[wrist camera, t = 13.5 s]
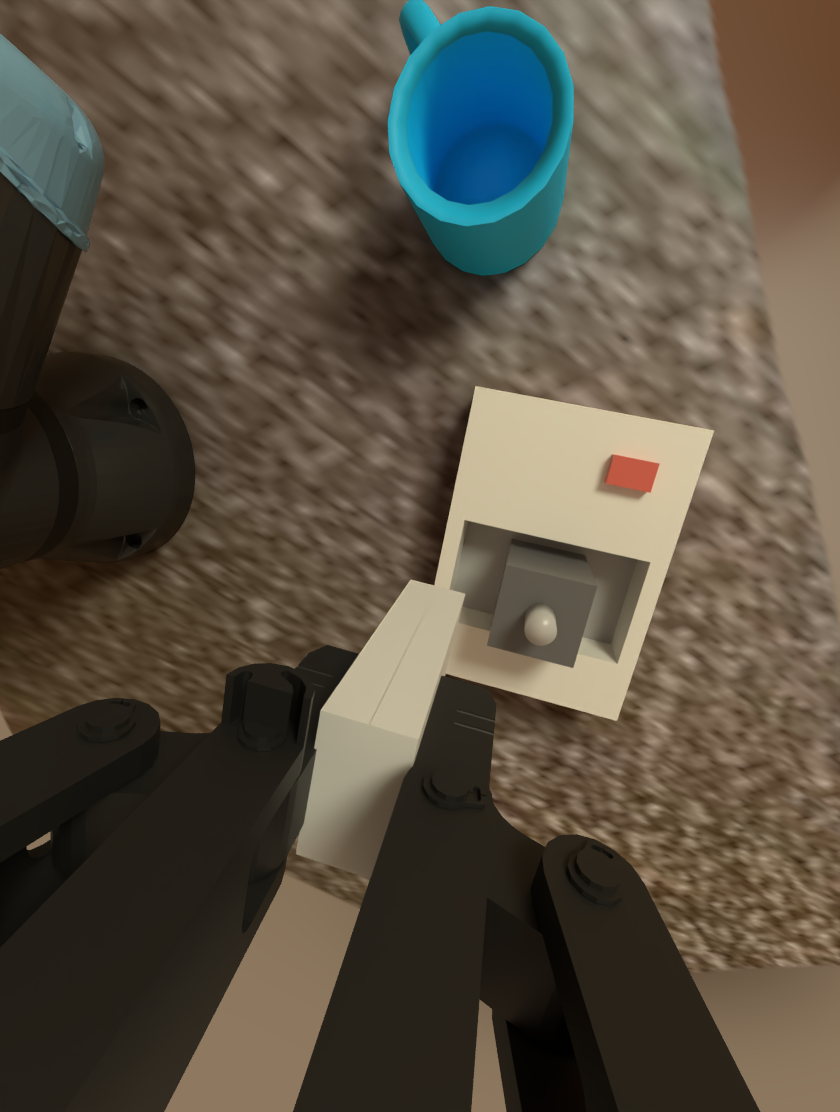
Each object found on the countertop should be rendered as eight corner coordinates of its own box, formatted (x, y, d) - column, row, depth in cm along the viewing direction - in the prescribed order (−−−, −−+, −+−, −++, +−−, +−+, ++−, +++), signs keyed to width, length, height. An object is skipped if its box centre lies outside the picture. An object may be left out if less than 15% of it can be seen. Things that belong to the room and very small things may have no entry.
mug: (589, 219, 30) (609, 145, 22) (465, 304, 32) (443, 264, 24) (487, 15, 29) (470, -139, 21) (366, 119, 31) (310, 16, 23)
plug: (511, 538, 34) (504, 574, 26) (585, 555, 34) (602, 598, 25) (495, 605, 36) (483, 660, 27) (565, 622, 35) (576, 685, 26)
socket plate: (427, 645, 38) (415, 670, 34) (481, 390, 33) (474, 385, 29) (609, 693, 36) (618, 726, 32) (694, 430, 31) (718, 430, 27)
